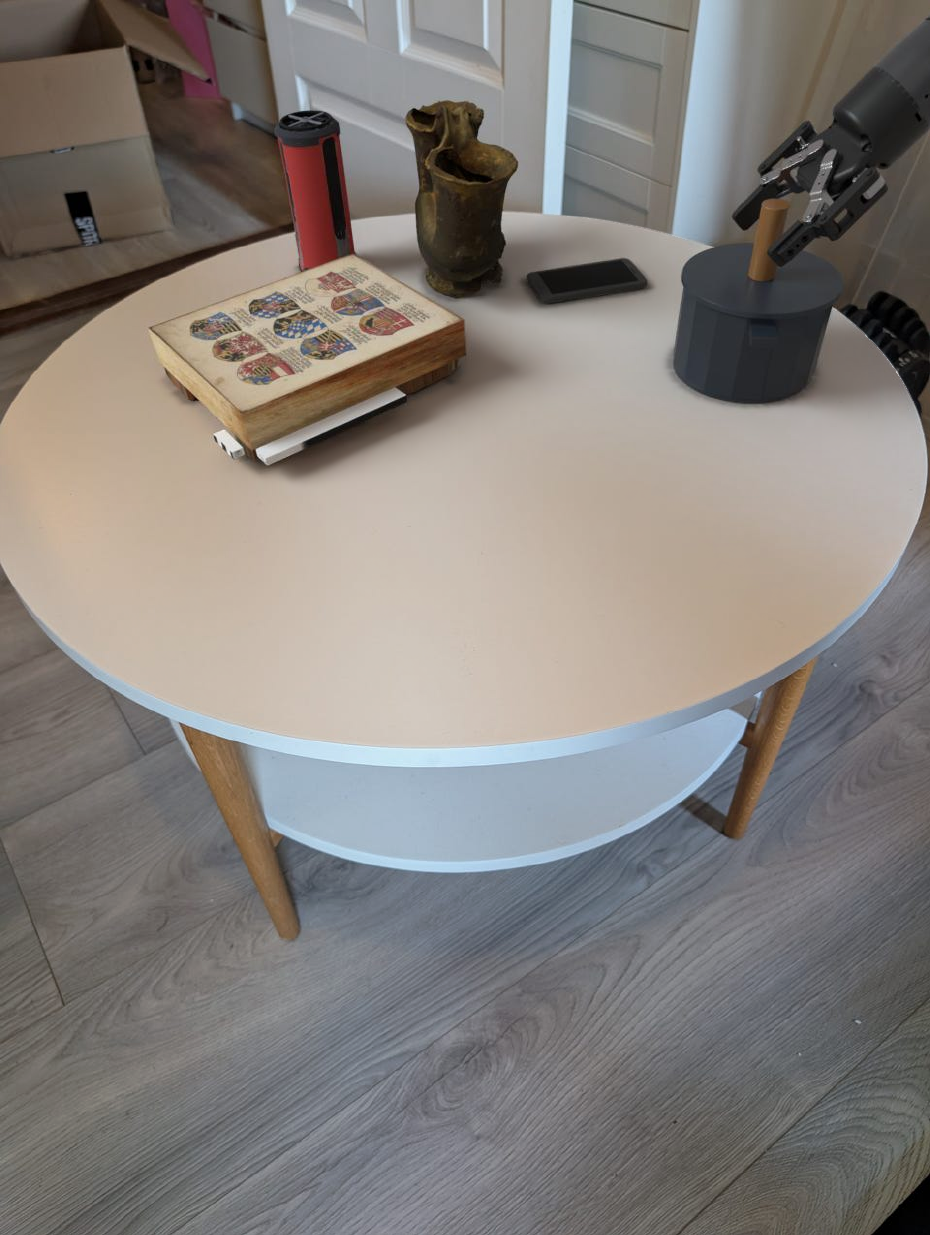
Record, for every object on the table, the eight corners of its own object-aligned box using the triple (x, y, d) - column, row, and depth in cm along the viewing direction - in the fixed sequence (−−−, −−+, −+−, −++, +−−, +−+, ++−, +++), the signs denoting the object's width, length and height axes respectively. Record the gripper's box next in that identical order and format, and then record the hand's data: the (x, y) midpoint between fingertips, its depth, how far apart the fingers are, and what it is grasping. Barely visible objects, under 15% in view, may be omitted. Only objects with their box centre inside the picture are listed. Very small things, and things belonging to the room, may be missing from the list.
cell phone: (524, 278, 111) (524, 272, 110) (627, 262, 113) (628, 256, 112) (541, 304, 106) (541, 298, 105) (649, 287, 108) (650, 281, 107)
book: (253, 490, 83) (483, 384, 94) (237, 434, 79) (481, 329, 90) (150, 386, 97) (360, 304, 108) (131, 333, 93) (353, 253, 104)
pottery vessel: (404, 241, 120) (390, 78, 106) (481, 232, 122) (477, 68, 107) (437, 328, 103) (425, 147, 89) (526, 316, 104) (528, 135, 90)
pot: (802, 324, 100) (823, 241, 94) (822, 422, 87) (848, 334, 80) (673, 318, 103) (684, 237, 96) (672, 414, 89) (686, 327, 82)
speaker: (328, 286, 112) (304, 133, 99) (287, 271, 115) (258, 122, 102) (369, 264, 116) (351, 114, 103) (328, 250, 119) (306, 103, 106)
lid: (869, 313, 84) (896, 227, 78) (714, 334, 82) (730, 248, 76) (797, 246, 94) (816, 165, 88) (658, 263, 93) (668, 182, 87)
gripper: (844, 44, 80) (705, 189, 87) (929, 89, 70) (765, 248, 78) (880, 102, 85) (745, 236, 92) (966, 153, 75) (806, 298, 82)
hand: (754, 241), depth 85 cm, fingers open, 8 cm apart
